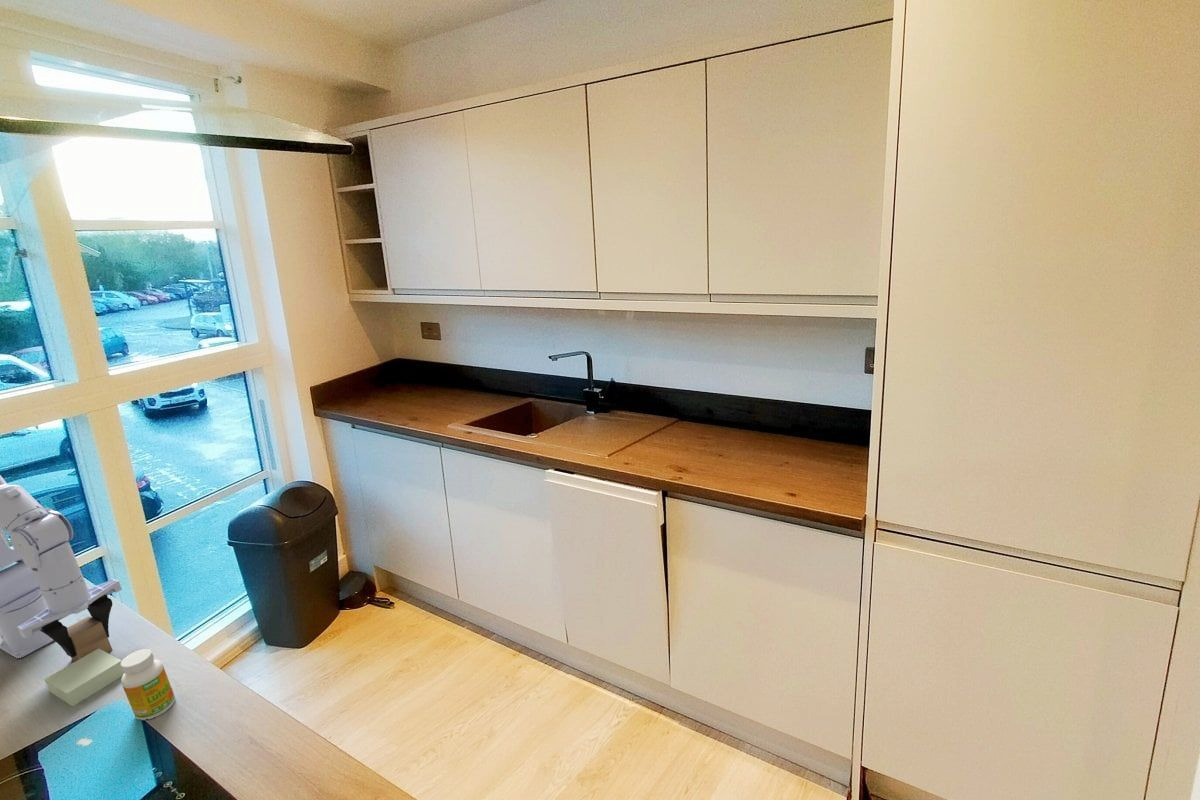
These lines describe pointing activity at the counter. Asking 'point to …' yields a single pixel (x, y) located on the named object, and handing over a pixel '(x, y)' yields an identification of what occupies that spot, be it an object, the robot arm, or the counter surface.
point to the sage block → (85, 677)
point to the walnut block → (88, 637)
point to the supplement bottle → (146, 685)
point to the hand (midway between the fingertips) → (88, 645)
